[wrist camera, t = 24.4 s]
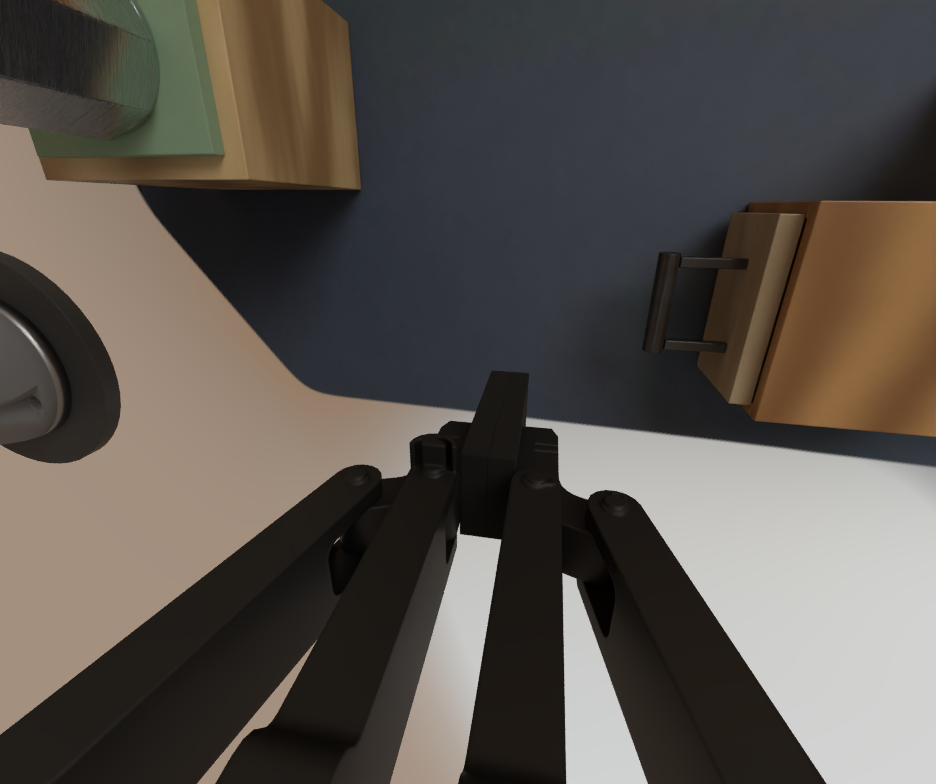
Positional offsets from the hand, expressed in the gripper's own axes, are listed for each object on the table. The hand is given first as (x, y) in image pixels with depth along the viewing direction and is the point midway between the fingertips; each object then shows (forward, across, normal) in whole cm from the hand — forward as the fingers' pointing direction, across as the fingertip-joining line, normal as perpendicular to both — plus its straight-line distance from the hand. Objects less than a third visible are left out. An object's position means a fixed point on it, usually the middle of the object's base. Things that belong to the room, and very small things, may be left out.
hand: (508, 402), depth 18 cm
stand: (+18, -19, +14) cm, 29 cm away
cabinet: (+17, +21, +2) cm, 27 cm away
